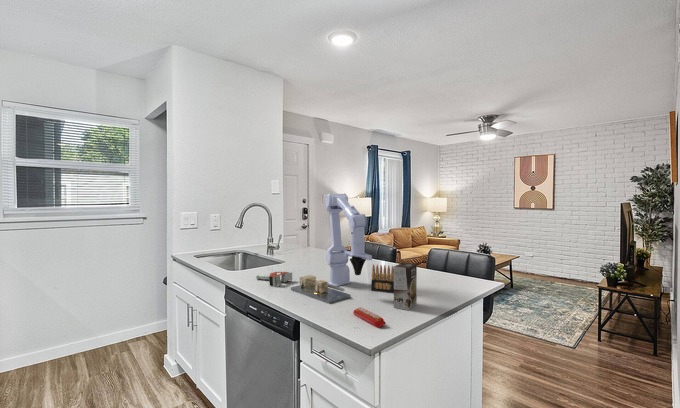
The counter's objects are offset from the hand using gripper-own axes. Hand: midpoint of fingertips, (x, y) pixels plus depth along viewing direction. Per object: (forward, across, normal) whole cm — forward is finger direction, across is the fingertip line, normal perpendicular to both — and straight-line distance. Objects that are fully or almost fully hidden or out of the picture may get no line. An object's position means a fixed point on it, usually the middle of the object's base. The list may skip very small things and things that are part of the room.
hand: (357, 274), depth 143 cm
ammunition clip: (+10, +2, +14) cm, 17 cm away
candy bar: (+10, +21, -17) cm, 29 cm away
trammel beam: (+8, -15, -8) cm, 19 cm away
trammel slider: (+8, -13, -9) cm, 18 cm away
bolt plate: (+9, -15, -9) cm, 20 cm away
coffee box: (+10, +21, +5) cm, 24 cm away
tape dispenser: (+10, -46, -12) cm, 49 cm away
